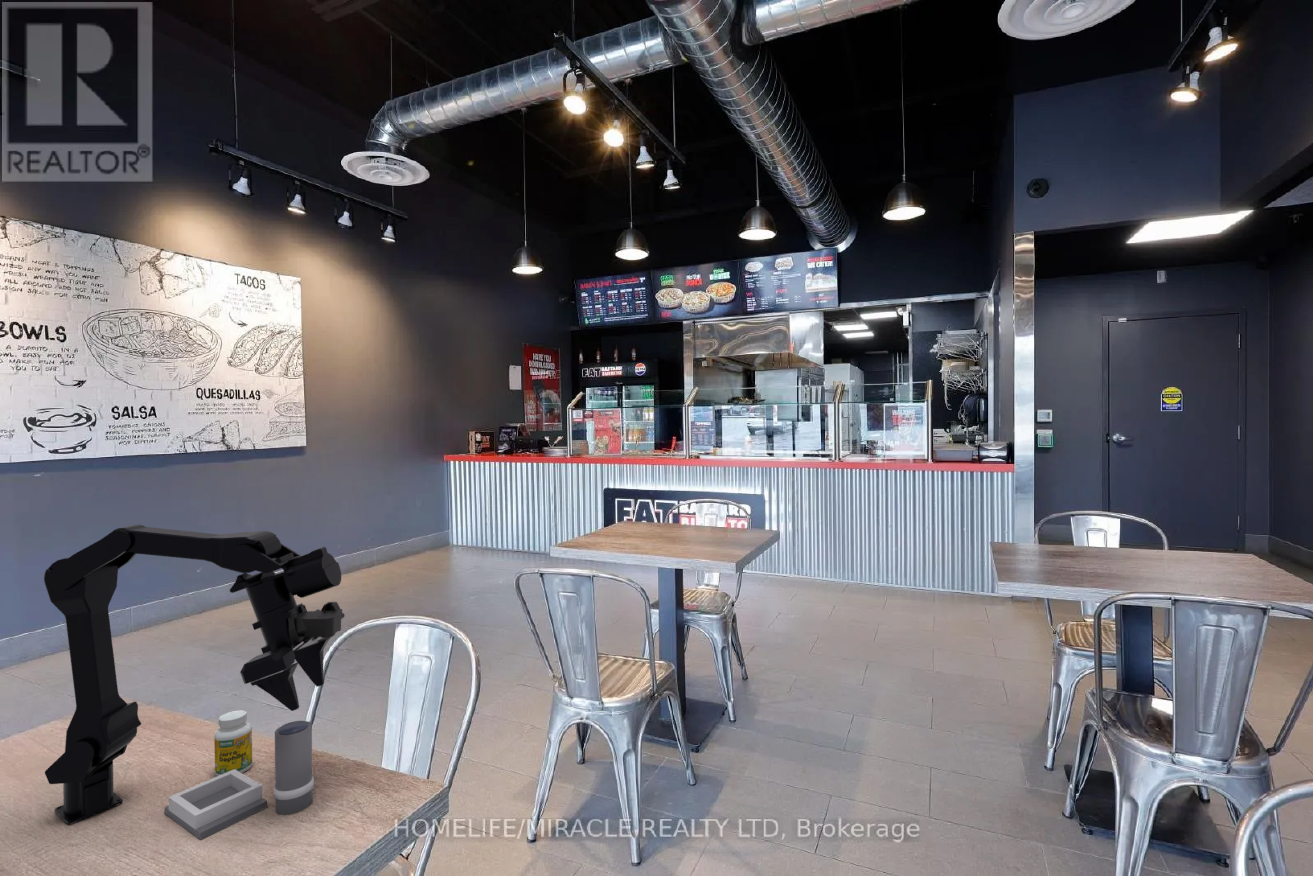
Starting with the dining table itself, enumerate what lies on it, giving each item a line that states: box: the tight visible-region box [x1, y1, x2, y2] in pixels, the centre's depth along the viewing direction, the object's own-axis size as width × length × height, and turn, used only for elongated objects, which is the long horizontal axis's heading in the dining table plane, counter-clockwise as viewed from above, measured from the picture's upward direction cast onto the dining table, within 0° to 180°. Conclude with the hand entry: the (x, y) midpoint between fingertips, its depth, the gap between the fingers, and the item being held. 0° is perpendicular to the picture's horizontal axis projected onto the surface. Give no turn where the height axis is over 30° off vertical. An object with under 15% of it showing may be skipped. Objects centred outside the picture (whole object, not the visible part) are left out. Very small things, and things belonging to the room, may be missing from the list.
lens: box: [273, 720, 315, 816], centre depth 95 cm, size 5×5×12 cm
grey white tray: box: [164, 769, 268, 841], centre depth 94 cm, size 12×9×3 cm
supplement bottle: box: [213, 709, 253, 777], centre depth 106 cm, size 5×5×10 cm
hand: (308, 697), depth 99 cm, fingers open, 9 cm apart
